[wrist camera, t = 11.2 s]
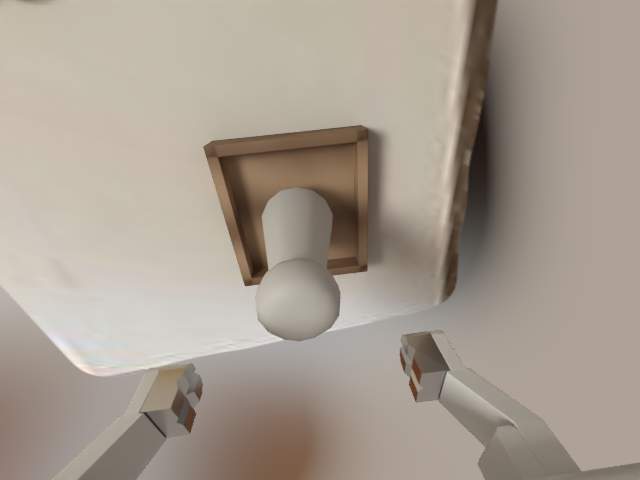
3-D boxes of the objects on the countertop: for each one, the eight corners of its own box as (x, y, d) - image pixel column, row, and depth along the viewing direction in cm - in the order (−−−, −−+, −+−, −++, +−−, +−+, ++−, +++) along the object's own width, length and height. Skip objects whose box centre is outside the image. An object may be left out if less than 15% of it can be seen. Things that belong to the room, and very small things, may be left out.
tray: (212, 141, 21) (203, 146, 19) (360, 125, 21) (368, 129, 19) (248, 271, 27) (245, 286, 25) (361, 257, 28) (367, 271, 26)
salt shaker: (336, 186, 23) (377, 280, 12) (321, 242, 25) (342, 363, 14) (269, 172, 22) (242, 261, 10) (260, 232, 24) (231, 354, 13)
